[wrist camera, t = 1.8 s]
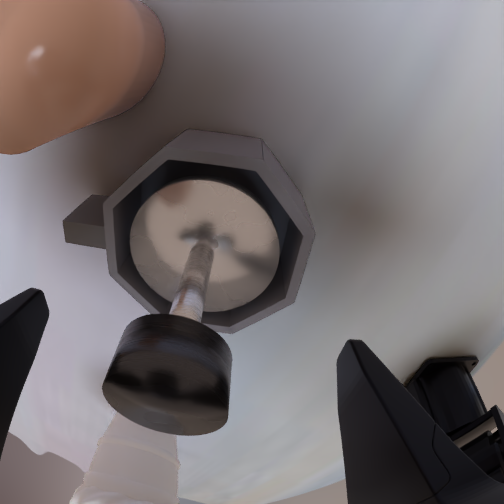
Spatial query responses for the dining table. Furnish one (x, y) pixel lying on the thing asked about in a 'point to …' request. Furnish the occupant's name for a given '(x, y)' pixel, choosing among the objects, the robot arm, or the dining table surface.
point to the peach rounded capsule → (72, 65)
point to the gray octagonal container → (213, 164)
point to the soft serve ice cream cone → (131, 467)
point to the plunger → (190, 301)
